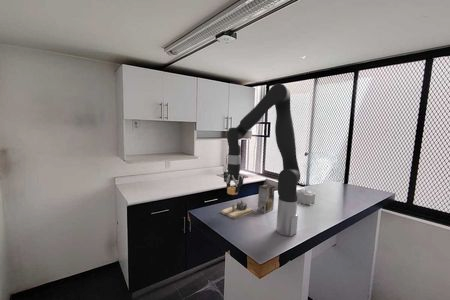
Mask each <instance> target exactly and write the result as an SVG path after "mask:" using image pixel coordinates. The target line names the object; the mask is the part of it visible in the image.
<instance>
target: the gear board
mask: <svg viewBox="0 0 450 300" xmlns="http://www.w3.org/2000/svg"><path fill="white" fill-rule="evenodd" d="M247 205H248V204H247V203H246V202H244V200H243V199H242V200H240V202H237V203H236V205H235V203H232V206H230V207H227V208H224V209H220V213H221V214H223V215H225V216H227V217H229V218H231V219H234V220H237V219H239V218H242V217H245V216H247V215H249V214H252V213H254V211H255V210H254V209H253V208H250V207H248V206H247Z"/></svg>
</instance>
